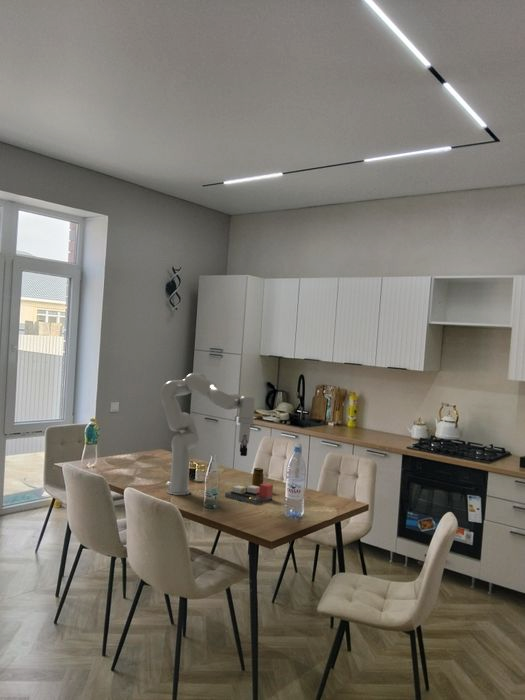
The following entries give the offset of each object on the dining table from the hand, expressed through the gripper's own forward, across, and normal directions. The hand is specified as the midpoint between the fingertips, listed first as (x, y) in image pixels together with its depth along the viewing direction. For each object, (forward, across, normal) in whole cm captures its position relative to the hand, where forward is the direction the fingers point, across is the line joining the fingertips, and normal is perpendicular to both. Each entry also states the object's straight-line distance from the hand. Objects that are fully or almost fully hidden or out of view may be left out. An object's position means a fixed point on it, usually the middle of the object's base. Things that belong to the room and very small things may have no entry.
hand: (243, 453), depth 286 cm
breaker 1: (+23, -13, 0) cm, 27 cm away
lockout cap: (+23, -10, +14) cm, 29 cm away
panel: (+26, -12, +5) cm, 29 cm away
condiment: (+26, -29, +11) cm, 41 cm away
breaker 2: (+23, -15, +8) cm, 29 cm away
